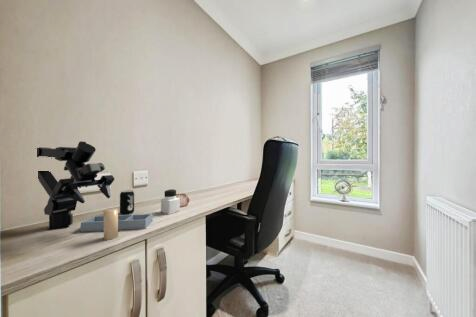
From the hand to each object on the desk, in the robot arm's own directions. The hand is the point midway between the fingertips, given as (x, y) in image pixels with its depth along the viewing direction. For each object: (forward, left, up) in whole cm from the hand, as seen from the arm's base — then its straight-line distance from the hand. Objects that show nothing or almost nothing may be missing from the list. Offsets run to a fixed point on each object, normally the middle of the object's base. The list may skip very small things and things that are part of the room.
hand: (97, 199), depth 72 cm
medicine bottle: (+29, +20, -13) cm, 38 cm away
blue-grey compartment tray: (+6, +7, -13) cm, 16 cm away
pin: (+5, -6, -13) cm, 15 cm away
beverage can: (+8, +28, -13) cm, 32 cm away
